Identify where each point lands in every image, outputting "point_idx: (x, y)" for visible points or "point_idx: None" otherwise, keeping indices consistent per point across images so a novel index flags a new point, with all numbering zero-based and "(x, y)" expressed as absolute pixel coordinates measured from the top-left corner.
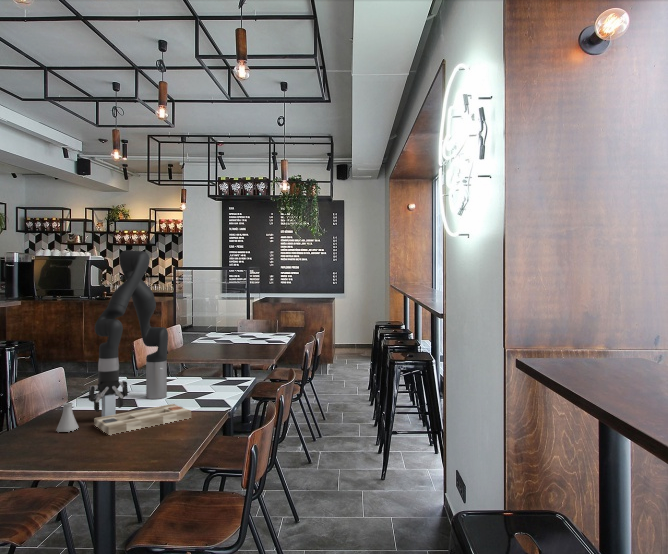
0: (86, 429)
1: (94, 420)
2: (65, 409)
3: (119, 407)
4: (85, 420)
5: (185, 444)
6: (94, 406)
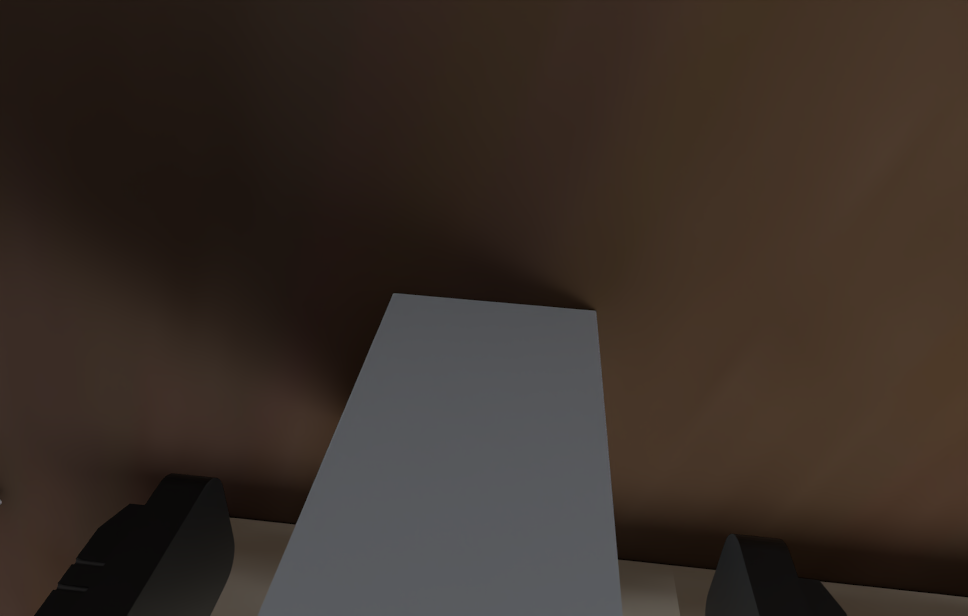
0: None
1: None
2: None
3: (709, 611)
4: (109, 97)
5: None
6: (65, 611)
